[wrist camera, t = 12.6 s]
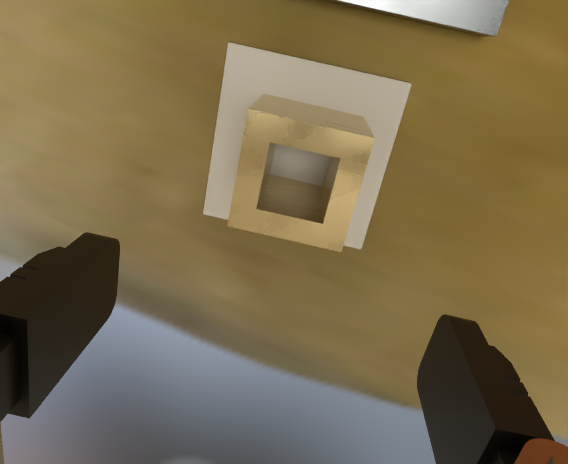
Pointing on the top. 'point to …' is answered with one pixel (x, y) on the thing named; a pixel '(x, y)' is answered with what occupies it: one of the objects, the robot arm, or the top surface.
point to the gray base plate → (441, 12)
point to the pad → (312, 90)
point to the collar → (291, 193)
